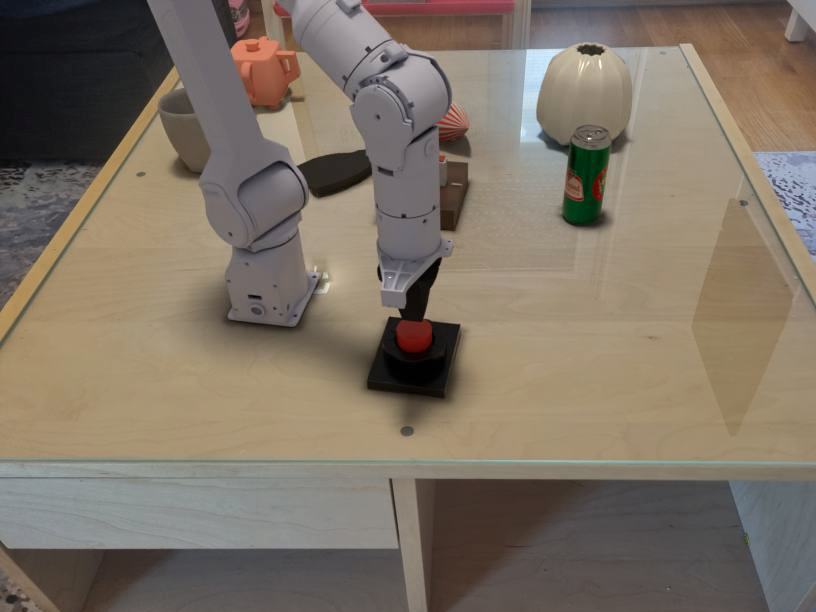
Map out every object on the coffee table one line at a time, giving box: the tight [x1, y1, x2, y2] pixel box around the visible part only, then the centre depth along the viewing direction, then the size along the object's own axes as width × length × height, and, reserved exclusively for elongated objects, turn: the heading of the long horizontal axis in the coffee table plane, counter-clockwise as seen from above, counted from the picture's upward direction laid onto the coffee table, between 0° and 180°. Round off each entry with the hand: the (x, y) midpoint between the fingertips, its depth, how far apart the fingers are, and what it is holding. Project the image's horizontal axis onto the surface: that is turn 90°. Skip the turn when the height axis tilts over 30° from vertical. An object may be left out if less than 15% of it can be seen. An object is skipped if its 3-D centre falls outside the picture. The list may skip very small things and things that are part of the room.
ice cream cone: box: [434, 99, 470, 143], centre depth 114 cm, size 6×6×20 cm
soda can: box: [561, 124, 613, 226], centre depth 94 cm, size 5×5×12 cm
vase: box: [535, 41, 633, 147], centre depth 110 cm, size 14×14×13 cm
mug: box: [156, 87, 211, 174], centre depth 106 cm, size 12×9×10 cm
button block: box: [366, 316, 462, 399], centre depth 78 cm, size 10×8×3 cm
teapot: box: [230, 35, 302, 110], centre depth 120 cm, size 12×12×10 cm
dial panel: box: [440, 160, 469, 231], centre depth 100 cm, size 12×10×3 cm
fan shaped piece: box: [296, 148, 372, 198], centre depth 106 cm, size 8×14×2 cm, turn 125°
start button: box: [396, 318, 432, 353], centre depth 77 cm, size 4×4×2 cm
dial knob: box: [439, 154, 448, 187], centre depth 98 cm, size 6×2×4 cm, turn 81°
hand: (413, 316), depth 75 cm, fingers closed
